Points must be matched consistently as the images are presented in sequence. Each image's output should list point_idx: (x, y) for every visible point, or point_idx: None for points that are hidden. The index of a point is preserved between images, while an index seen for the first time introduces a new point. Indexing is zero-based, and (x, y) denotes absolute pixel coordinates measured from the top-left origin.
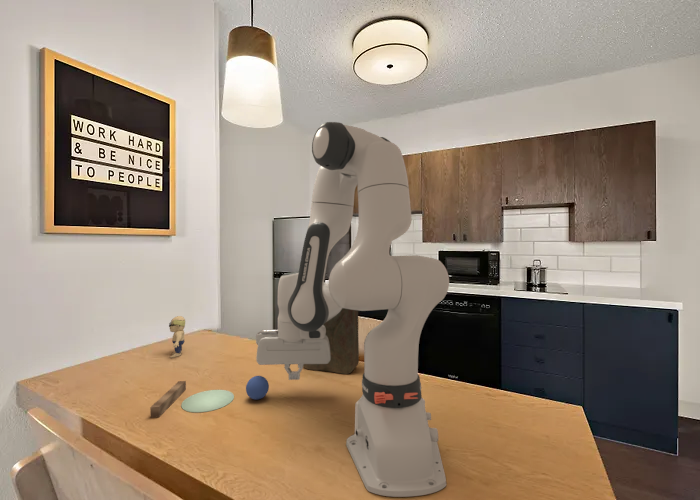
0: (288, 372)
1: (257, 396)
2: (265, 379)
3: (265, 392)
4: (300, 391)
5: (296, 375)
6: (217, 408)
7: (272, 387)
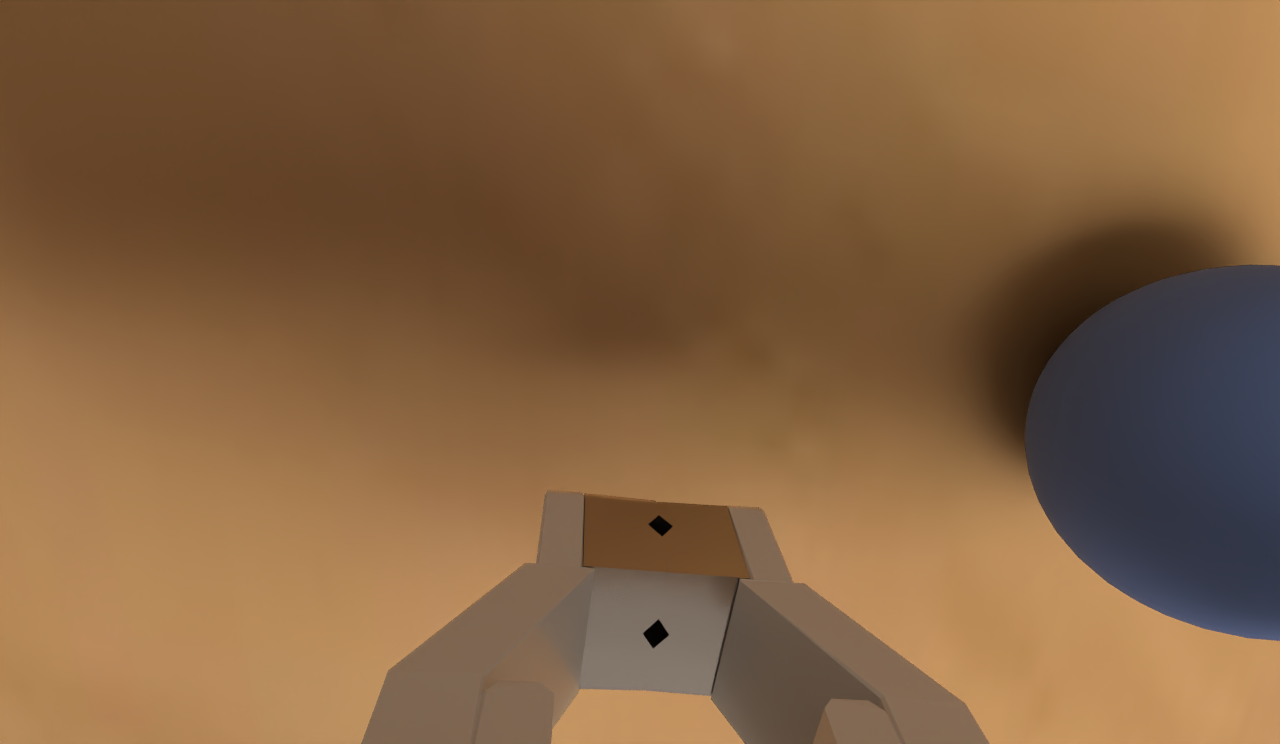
0: (806, 604)
1: (1208, 270)
2: (1218, 521)
3: (1101, 332)
4: (547, 485)
5: (602, 542)
6: None
7: (885, 627)
